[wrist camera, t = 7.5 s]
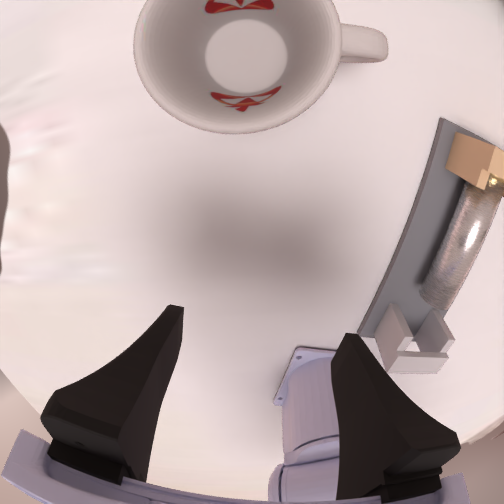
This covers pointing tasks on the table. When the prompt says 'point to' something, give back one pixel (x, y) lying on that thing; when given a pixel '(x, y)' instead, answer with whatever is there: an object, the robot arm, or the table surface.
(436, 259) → the tube
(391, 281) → the board
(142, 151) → the table surface
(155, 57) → the cup
